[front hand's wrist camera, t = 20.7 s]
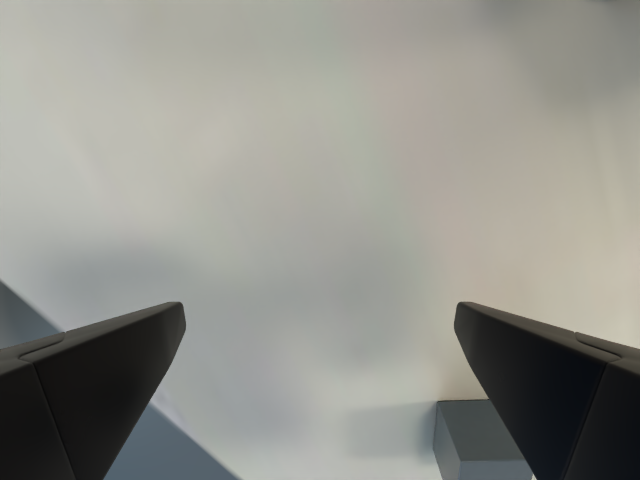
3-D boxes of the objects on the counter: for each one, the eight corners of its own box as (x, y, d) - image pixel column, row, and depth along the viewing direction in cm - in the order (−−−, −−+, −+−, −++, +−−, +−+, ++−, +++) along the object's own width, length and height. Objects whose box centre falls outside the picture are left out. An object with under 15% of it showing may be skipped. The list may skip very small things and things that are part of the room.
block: (437, 400, 23) (461, 461, 19) (501, 399, 23) (537, 459, 19) (432, 448, 25) (453, 514, 21) (491, 447, 25) (523, 512, 21)
